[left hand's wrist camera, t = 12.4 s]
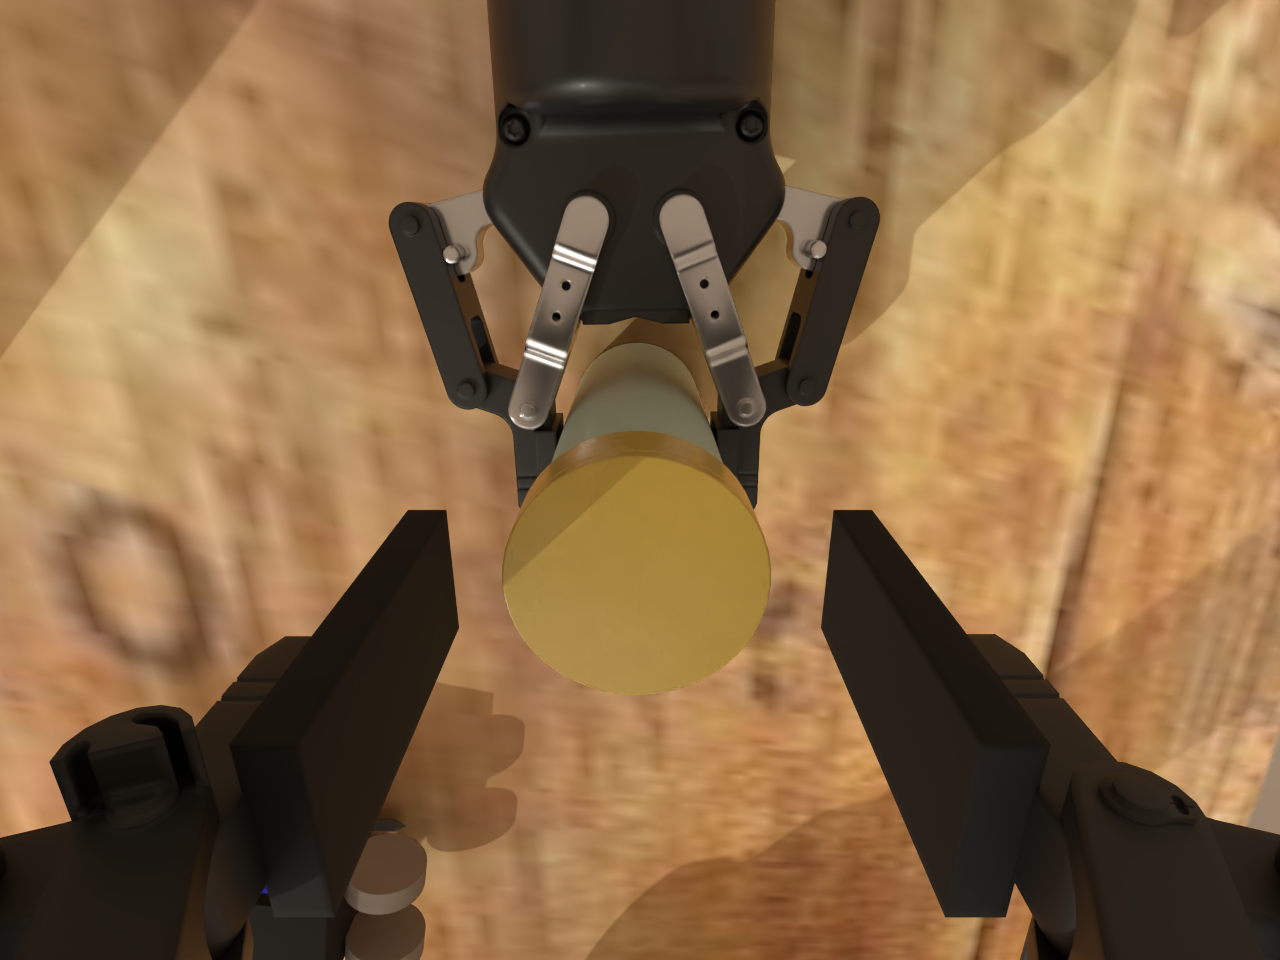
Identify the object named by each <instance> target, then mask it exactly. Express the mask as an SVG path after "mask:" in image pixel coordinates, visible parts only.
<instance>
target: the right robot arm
mask: <svg viewBox="0 0 1280 960" xmlns="http://www.w3.org/2000/svg"><path fill="white" fill-rule="evenodd" d="M487 7H488V20H489V34H490V47H491V61H492V74H493V88H494V101H495V115H496V130H497V140H496V148H495V153H494V157H493V160H492V163H491V166H490V168H489V170H488V173H487V175H486V177H485V180H484V184H483V190H480V191H476V192H472V193H469V194H465V195H461V196H458V197H454V198H451V199H447V200H443V201H440V202H436V203H432V204H430V203H416V202H404V203H401V204H399V205H397V206H396V207H395V208H394V209H393V210H392V212H391V214H390V217H389V228H390V232H391V235H392V237H393V240H394V243H395V246H396V249H397V252H398V255H399V257H400V260H401V263H402V266H403V269H404V272H405V274H406V277H407V280H408V283H409V286H410V289H411V292H412V294H413V297H414V300H415V303H416V306H417V309H418V312H419V314H420V317H421V320H422V323H423V326H424V329H425V332H426V334H427V337H428V340H429V343H430V346H431V349H432V352H433V354H434V357H435V360H436V363H437V366H438V369H439V372H440V374H441V377H442V380H443V383H444V386H445V389H446V392H447V394H448V397H449V399H450V400H451V401H452V403H453V404H455V405H456V406H458V407H459V408H462V409H468V410H470V409H475V408H478V409H481V410H484V411H487V412H490V413H493V414H496V415H498V416H500V417H502V418H503V419H504V420H505V421H506V422H507V423H508V424H509V426H510V427H511V429H512V432H513V438H514V451H515V464H516V476H517V488H518V503H519V507H520V508H521V506H522V503H523V501H524V499H525V497H526V495H527V493H528V491H529V489H530V488H531V486H532V485H533V483H534V482H535V480H536V479H537V477H538V476H539V475H540V474H541V473H542V472H543V471H544V469H545V468H546V467H547V466H548V465H549V464H550V463H551V462H552V459H553V456H554V454H555V451H556V448H557V445H558V442H559V439H560V437H561V434H562V431H563V428H564V425H563V413H556V403H555V399H556V396H557V393H558V390H559V387H560V384H561V381H562V378H563V375H564V372H565V369H566V366H567V362H568V359H569V356H570V353H571V350H572V348H573V345H574V342H575V339H576V336H577V333H578V330H579V327H580V324H581V321H583V325H594V324H612V323H615V322H619V321H622V320H626V319H629V318H632V317H640V318H643V319H647V320H651V321H655V322H659V323H663V324H667V323H689V319H691V321H692V324H693V326H694V329H695V332H696V335H697V337H698V340H699V343H700V345H701V348H702V351H703V353H704V356H705V359H706V362H707V364H708V367H709V370H710V373H711V375H712V378H713V381H714V384H715V387H716V389H717V392H718V401H717V411H713V412H711V414H710V428H711V431H712V433H713V436H714V439H715V442H716V445H717V448H718V451H719V454H720V456H721V459H722V462H723V464H724V465H725V466H726V467H727V468H728V469H729V470H730V471H731V472H732V473H733V475H734V476H735V477H736V478H737V479H738V481H739V482H740V484H741V486H742V487H743V489H744V490H745V492H746V494H747V496H748V498H749V501H750V503H751V505H752V507H753V510H754V508H755V506H756V504H757V491H758V487H757V485H758V469H759V448H760V431H761V427H762V425H763V423H764V422H765V420H766V419H767V418H768V417H769V416H770V415H771V414H773V413H774V412H777V411H779V410H782V409H784V408H787V407H790V406H793V405H796V404H797V405H800V406H810V405H813V404H815V403H817V402H818V401H820V400H821V399H822V397H823V396H824V394H825V392H826V389H827V386H828V383H829V380H830V377H831V374H832V370H833V367H834V364H835V361H836V358H837V355H838V352H839V348H840V345H841V342H842V339H843V336H844V333H845V330H846V326H847V323H848V320H849V317H850V314H851V311H852V307H853V304H854V301H855V298H856V295H857V292H858V289H859V285H860V282H861V279H862V276H863V273H864V270H865V267H866V263H867V260H868V257H869V254H870V251H871V248H872V245H873V241H874V238H875V235H876V232H877V229H878V226H879V222H880V214H879V210H878V208H877V206H876V204H875V203H874V202H873V201H871V200H870V199H868V198H865V197H854V196H851V197H842V198H835V197H831V196H827V195H823V194H819V193H814V192H810V191H806V190H802V189H798V188H794V187H790V186H786V185H785V180H784V177H783V174H782V171H781V169H780V167H779V165H778V163H777V161H776V159H775V156H774V153H773V149H772V145H771V140H770V104H771V82H772V60H773V38H774V16H775V0H487ZM775 221H778V222H779V223H780V224H781V225H782V226H783V227H784V229H785V231H786V234H787V246H786V252H787V256H788V258H789V260H790V262H791V263H792V264H793V265H795V266H797V267H799V268H801V271H800V274H799V278H798V281H797V285H796V288H795V291H794V295H793V298H792V302H791V305H790V309H789V312H788V316H787V319H786V323H785V326H784V330H783V333H782V337H781V340H780V344H779V347H778V351H777V354H776V357H775V360H773V361H771V362H768V363H765V364H763V365H760V366H757V367H755V368H754V366H753V363H752V360H751V357H750V354H749V350H748V345H747V341H746V337H745V334H744V331H743V328H742V325H741V322H740V319H739V316H738V313H737V310H736V307H735V304H734V301H733V298H732V296H731V293H730V290H729V287H728V286H729V284H730V283H731V281H732V280H733V279H734V277H735V276H736V275H737V273H738V272H739V270H740V269H741V268H742V266H743V265H744V264H745V262H746V261H747V259H748V258H749V257H750V255H751V254H752V252H753V251H754V250H755V248H756V247H757V246H758V244H759V243H760V241H761V240H762V239H763V237H764V236H765V235H766V233H767V232H768V230H769V229H770V228H771V226H772V225H773V223H774V222H775ZM492 225H494V226H495V227H496V228H497V230H498V231H499V232H500V234H501V235H502V236H503V238H504V239H505V240H506V241H507V243H508V244H509V245H510V247H511V248H512V249H513V251H514V252H515V253H516V254H517V256H518V257H519V258H520V260H521V261H522V262H523V264H524V265H525V266H526V267H527V269H528V270H529V271H530V273H531V274H532V275H533V277H534V278H535V279H536V280H537V282H538V283H539V284H540V286H541V287H542V291H541V294H540V298H539V301H538V304H537V308H536V311H535V314H534V318H533V321H532V324H531V327H530V331H529V334H528V337H527V341H526V345H525V352H524V356H523V359H522V363H521V366H520V369H519V370H516V369H513V368H510V367H507V366H504V365H501V364H499V362H498V359H497V356H496V353H495V350H494V347H493V344H492V340H491V337H490V334H489V331H488V328H487V325H486V322H485V319H484V315H483V312H482V309H481V306H480V303H479V300H478V297H477V293H476V290H475V287H474V284H473V281H472V278H471V275H470V272H473V271H475V270H477V269H478V268H479V267H480V265H481V264H482V262H483V259H484V249H483V237H484V234H485V233H486V231H487V230H488V228H489V227H491V226H492Z"/></svg>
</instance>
